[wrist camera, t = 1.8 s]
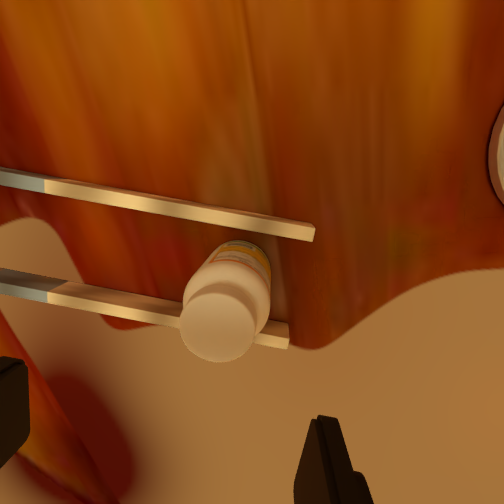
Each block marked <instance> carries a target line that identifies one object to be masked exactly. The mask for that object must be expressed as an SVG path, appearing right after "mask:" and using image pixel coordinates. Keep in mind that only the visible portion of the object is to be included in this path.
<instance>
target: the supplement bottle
mask: <svg viewBox="0 0 504 504" xmlns="http://www.w3.org/2000/svg"><path fill="white" fill-rule="evenodd" d="M270 293H271V268H270V264H269V261H268V259H267V257H266V255H265V254H264V252H263V251H262V250H261V249H260V248H259V247H257V246H256V245H254V244H252V243H250V242H247V241H241V240H234V241H229V242H226V243H224V244H222V245H220V246H219V247H218V248H217V249H215V250H214V252H213V253H212V254H211V255H210V256H209V257H208V259H207V260H206V261H205V262H204V263H203V264H202V266H201V267H200V268H199V269H198V270H197V271H196V273H195V274H194V275H193V276H192V278H191V279H190V281H189V282H188V284H187V286H186V289H185V292H184V296H183V310H182V312H181V315H180V319H179V331H180V335H181V338H182V340H183V342H184V344H185V345H186V347H187V348H188V349H189V350H190V351H191V352H192V353H193V354H195V355H196V356H198V357H200V358H202V359H204V360H207V361H211V362H228V361H232V360H234V359H237V358H239V357H240V356H242V355H243V354H244V353H245V352H246V351H247V350H248V349H249V348H250V346H251V345H252V343H253V340H254V337H255V336H256V335H257V334H258V333H259V332H260V331H261V330H262V328H263V327H264V326H265V324H266V322H267V319H268V316H269V312H270Z"/></svg>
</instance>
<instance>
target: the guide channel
mask: <svg viewBox="0 0 504 504" xmlns="http://www.w3.org/2000/svg"><path fill="white" fill-rule="evenodd" d="M0 185H4V186H10V187H15V188H20V189H26V190H31V191H37V192H42V193H48V194H53V195H59V196H64V197H70V198H75V199H81V200H86V201H91V202H97V203H102V204H108V205H113V206H119V207H124V208H130V209H135V210H141V211H146V212H151V213H157V214H162V215H168V216H173V217H179V218H184V219H190V220H195V221H201V222H206V223H212V224H217V225H222V226H228V227H233V228H239V229H244V230H250V231H255V232H261V233H266V234H272V235H277V236H282V237H288V238H293V239H299V240H304V241H310V242H313V237H314V233H315V229H316V228H315V227H314V226H313V225H312V224H311V223H307V222H302V221H296V220H291V219H285V218H280V217H274V216H269V215H263V214H258V213H252V212H247V211H241V210H236V209H230V208H224V207H219V206H213V205H208V204H202V203H197V202H191V201H186V200H180V199H175V198H169V197H164V196H158V195H153V194H147V193H142V192H136V191H131V190H125V189H120V188H114V187H109V186H103V185H97V184H92V183H86V182H81V181H75V180H70V179H64V178H59V177H53V176H48V175H42V174H37V173H31V172H26V171H20V170H15V169H9V168H4V167H0ZM0 294H5V295H10V296H15V297H20V298H25V299H30V300H35V301H41V302H46V303H51V304H56V305H61V306H66V307H71V308H76V309H81V310H87V311H92V312H97V313H102V314H107V315H112V316H117V317H122V318H127V319H132V320H137V321H142V322H148V323H153V324H158V325H163V326H168V327H173V328H179V319H180V315H181V312H182V310H183V303H181V302H175V301H170V300H165V299H160V298H155V297H149V296H144V295H139V294H134V293H129V292H124V291H118V290H113V289H108V288H103V287H98V286H92V285H87V284H82V283H77V282H72V281H66V280H61V279H56V278H51V277H46V276H41V275H35V274H30V273H25V272H20V271H14V270H10V269H4V268H0ZM289 340H290V338H289V328H288V323H284V322H279V321H274V320H269V319H267V322H266V324H265V326H264V327H263V328H262V330H261V331H260V332H259V333H258V334H257V335H256V336H255V337H254V340H253V343H255V344H260V345H265V346H270V347H276V348H280V349H285V350H287V348H288V344H289Z"/></svg>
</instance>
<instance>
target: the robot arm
mask: <svg viewBox="0 0 504 504" xmlns="http://www.w3.org/2000/svg"><path fill="white" fill-rule="evenodd" d="M488 166H489V172H490V178H491V182H492V184H493V187H494V189H495V192H496V194H497V196H498V197H499V199H500V200H501V202H502V203H503V204H504V106H503V107H502V109H501V111H500V113H499V116H498V118H497V120H496V123H495V125H494V128H493V131H492V136H491V140H490V144H489V159H488ZM29 433H30V412H29V385H28V367H27V366H26V365H25V362H24V361H23V360H21V359H17V358H11V357H6V356H2V357H0V468H1V467H2V466H3V465H4V464H5V463H6V462H7V461H8V460H9V459H10V458H11V457H12V456H13V455H14V454H15V452H16V451H17V450H18V449H19V448H20V447H21V446H22V445H23V444H24V443H25V441H26V440H27V438H28V436H29ZM294 504H374V503H373V500H372V497H371V494H370V491H369V488H368V485H367V482H366V480H365V477H364V476H363V474H362V473H360V472H357V471H353V468H352V465H351V461H350V458H349V455H348V452H347V448H346V445H345V442H344V438H343V435H342V431H341V428H340V425H339V422H338V419H337V418H333V417H328V416H323V415H318V417H317V419H312V420H311V423H310V426H309V430H308V433H307V437H306V441H305V444H304V448H303V452H302V455H301V459H300V462H299V466H298V470H297V473H296V477H295V481H294Z"/></svg>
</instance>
